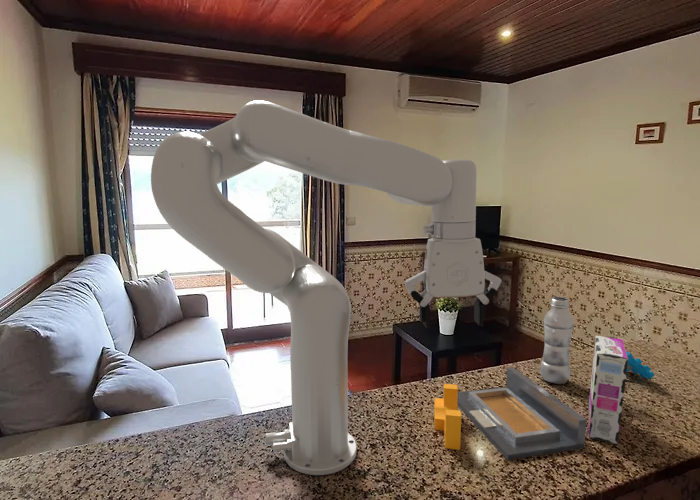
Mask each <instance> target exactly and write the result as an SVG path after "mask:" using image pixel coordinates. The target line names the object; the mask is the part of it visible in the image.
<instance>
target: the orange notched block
mask: <svg viewBox="0 0 700 500" xmlns="http://www.w3.org/2000/svg"><path fill="white" fill-rule="evenodd" d="M458 389H459V388H458V385H457V384H453V383H452V384H451V383H443V398H441V397H440V398H439V397H434V402H433V403H434V407H433V409H434V410H433V415H434V417H433V418H434V430H435V431H443V435H444V436H443V437H444V438H443V439H444V449H448V450H449V449H450V450H458V451H459V450H461V439H462V438H461V434H462V433H461V432H462V412H461V411H462V410H458V409H459V407H458V403H457V396H458V392H459V391H458Z"/></svg>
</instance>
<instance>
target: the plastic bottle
mask: <svg viewBox="0 0 700 500" xmlns="http://www.w3.org/2000/svg"><path fill="white" fill-rule="evenodd" d="M550 307H551V308H550V309H549V310H548V311H547V312H546V314H545V315H544V318H543V329H544V348H543V354H542V359H541V363H540V366H539V372H540V377H542V379H543V380H544V381H546V382H548V383H551V384H558V385H562V384H565V383H567V382H568V381H569V379H570V376H571V365H570V344H571V337H572V334H573V330H574V324H575V320H574V317H573V316H572V314H571V312H570V311H569V307H570V299H569V298H566V297H563V296H552V297H551V302H550Z"/></svg>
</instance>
